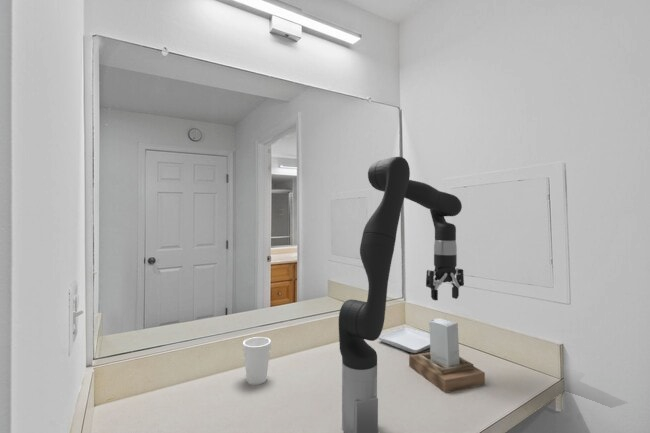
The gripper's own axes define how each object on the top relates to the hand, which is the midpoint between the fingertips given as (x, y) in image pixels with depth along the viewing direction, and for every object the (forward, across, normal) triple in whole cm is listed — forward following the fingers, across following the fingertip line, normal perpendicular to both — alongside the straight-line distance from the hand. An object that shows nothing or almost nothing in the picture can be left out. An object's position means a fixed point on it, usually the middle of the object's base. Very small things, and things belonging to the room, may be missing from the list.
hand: (445, 299), depth 119 cm
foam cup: (+27, -63, +18) cm, 71 cm away
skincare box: (+23, 0, 0) cm, 23 cm away
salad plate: (+27, +5, +29) cm, 40 cm away
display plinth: (+27, 0, 0) cm, 27 cm away
